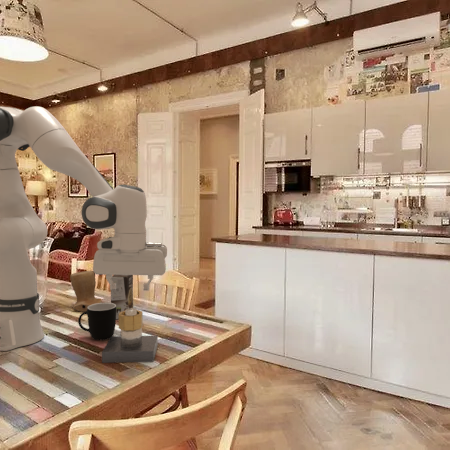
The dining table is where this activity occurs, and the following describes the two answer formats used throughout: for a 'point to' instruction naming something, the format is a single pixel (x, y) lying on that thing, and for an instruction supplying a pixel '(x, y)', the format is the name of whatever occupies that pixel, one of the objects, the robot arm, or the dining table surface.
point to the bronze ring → (130, 321)
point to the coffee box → (122, 293)
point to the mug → (100, 320)
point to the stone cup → (84, 290)
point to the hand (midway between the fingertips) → (129, 289)
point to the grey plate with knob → (130, 345)
